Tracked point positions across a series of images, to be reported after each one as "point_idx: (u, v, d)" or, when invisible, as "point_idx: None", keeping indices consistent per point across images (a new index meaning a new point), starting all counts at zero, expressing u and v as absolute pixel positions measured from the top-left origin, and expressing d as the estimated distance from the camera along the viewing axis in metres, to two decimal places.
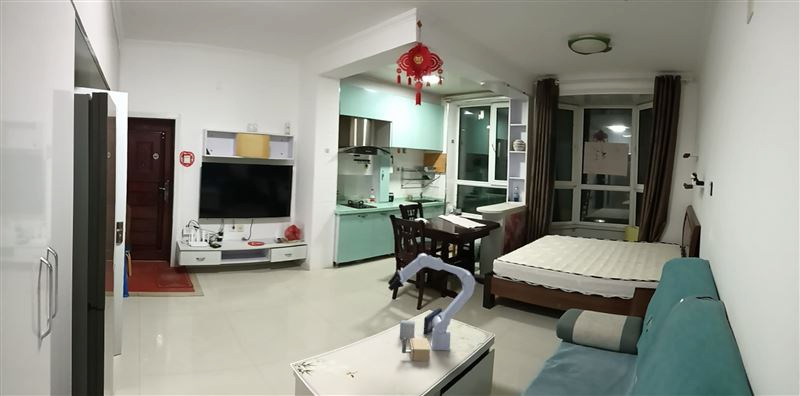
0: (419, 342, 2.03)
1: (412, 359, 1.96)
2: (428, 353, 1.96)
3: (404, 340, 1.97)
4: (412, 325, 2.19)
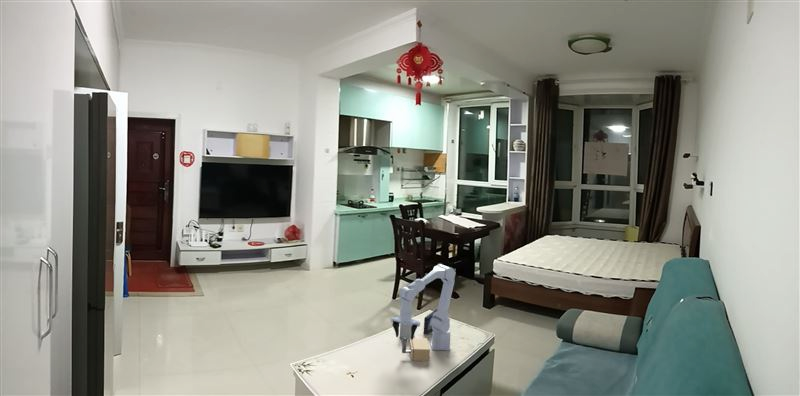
0: (419, 342, 2.03)
1: (412, 359, 1.96)
2: (428, 353, 1.96)
3: (404, 340, 1.97)
4: (412, 325, 2.19)
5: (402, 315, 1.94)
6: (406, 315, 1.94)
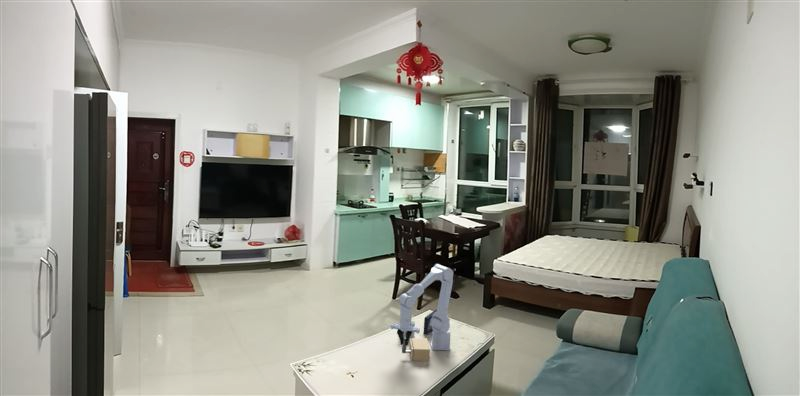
0: (419, 342, 2.03)
1: (412, 359, 1.96)
2: (428, 353, 1.96)
3: (404, 340, 1.97)
4: (412, 325, 2.19)
5: (402, 322, 1.95)
6: (406, 322, 1.94)
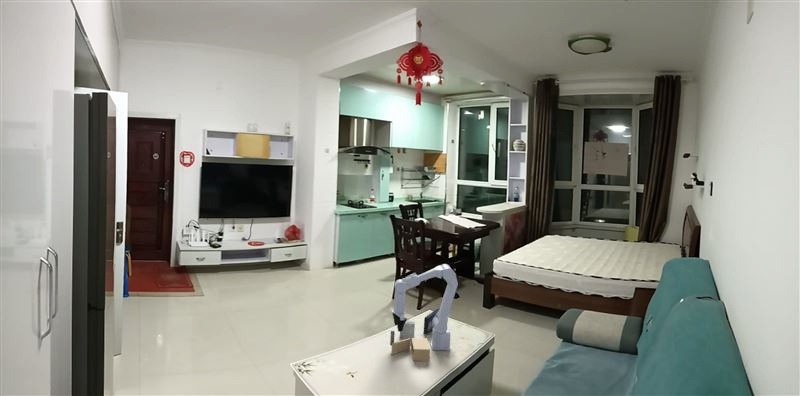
0: (419, 342, 2.03)
1: (392, 353, 2.01)
2: (428, 353, 1.96)
3: (391, 333, 2.05)
4: (412, 325, 2.19)
5: (394, 304, 2.08)
6: (395, 305, 2.06)
